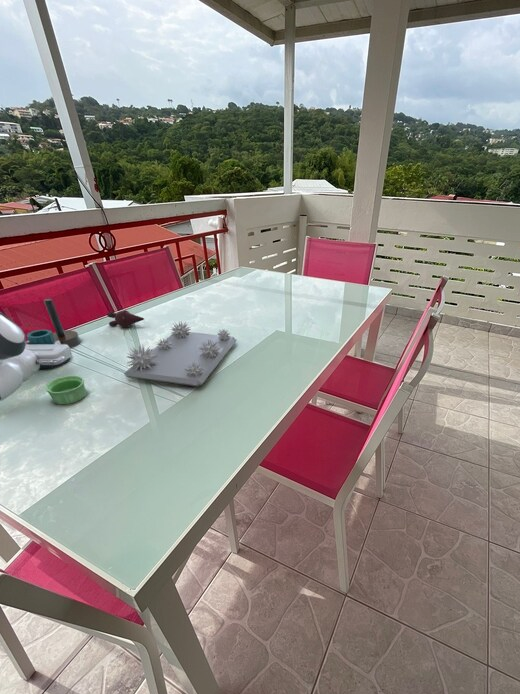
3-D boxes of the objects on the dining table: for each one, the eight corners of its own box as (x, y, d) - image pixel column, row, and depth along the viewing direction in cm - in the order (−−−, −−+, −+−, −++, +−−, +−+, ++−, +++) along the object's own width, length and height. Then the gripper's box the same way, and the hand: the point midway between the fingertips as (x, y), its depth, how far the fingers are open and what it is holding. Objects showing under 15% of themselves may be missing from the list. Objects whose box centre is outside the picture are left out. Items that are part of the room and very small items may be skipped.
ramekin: (66, 386, 97) (60, 373, 94) (95, 389, 96) (90, 377, 94) (43, 404, 90) (36, 390, 87) (74, 407, 89) (69, 394, 87)
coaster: (22, 370, 103) (22, 368, 103) (41, 354, 112) (40, 352, 112) (60, 369, 105) (60, 368, 104) (76, 354, 114) (75, 352, 113)
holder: (42, 349, 115) (22, 304, 106) (56, 337, 123) (39, 294, 114) (73, 349, 116) (56, 305, 107) (85, 337, 124) (70, 295, 115)
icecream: (146, 309, 135) (111, 309, 136) (137, 310, 128) (100, 311, 129) (149, 326, 137) (115, 326, 138) (140, 328, 130) (104, 329, 131)
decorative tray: (201, 391, 99) (197, 361, 93) (121, 380, 101) (112, 351, 96) (237, 343, 127) (236, 318, 122) (174, 335, 130) (170, 311, 124)
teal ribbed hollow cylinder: (33, 362, 105) (22, 337, 100) (44, 353, 110) (33, 329, 105) (55, 362, 105) (44, 337, 100) (64, 353, 110) (55, 329, 106)
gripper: (54, 353, 94) (76, 333, 105) (-26, 353, 91) (6, 333, 102) (62, 372, 97) (82, 351, 108) (-15, 373, 95) (14, 351, 106)
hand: (44, 342), depth 105 cm, fingers closed on teal ribbed hollow cylinder, 6 cm apart
